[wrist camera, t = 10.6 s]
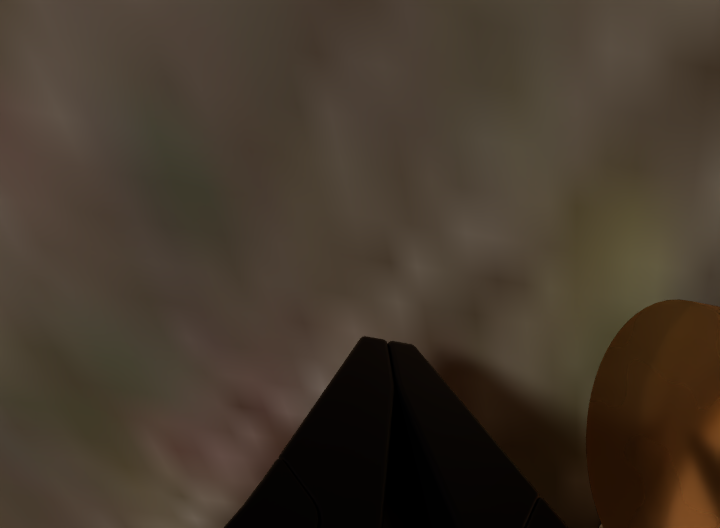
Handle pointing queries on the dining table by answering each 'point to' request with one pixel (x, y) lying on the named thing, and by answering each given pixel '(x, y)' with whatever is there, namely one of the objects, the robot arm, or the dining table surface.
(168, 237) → the dining table surface
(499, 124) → the dining table surface
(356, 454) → the robot arm
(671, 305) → the knob inner
